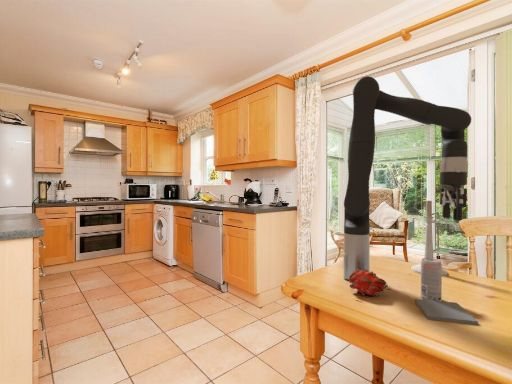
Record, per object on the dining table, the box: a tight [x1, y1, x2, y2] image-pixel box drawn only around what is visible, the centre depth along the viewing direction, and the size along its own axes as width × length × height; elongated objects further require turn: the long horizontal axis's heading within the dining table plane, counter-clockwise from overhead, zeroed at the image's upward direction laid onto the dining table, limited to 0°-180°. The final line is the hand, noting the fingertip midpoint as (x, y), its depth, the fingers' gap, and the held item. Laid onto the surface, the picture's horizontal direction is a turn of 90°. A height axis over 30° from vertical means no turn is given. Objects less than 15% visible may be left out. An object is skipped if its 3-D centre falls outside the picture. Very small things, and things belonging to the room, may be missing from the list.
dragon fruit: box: [347, 269, 389, 297], centre depth 88 cm, size 8×8×12 cm
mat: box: [414, 298, 479, 325], centre depth 75 cm, size 11×12×1 cm
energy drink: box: [420, 257, 443, 301], centre depth 84 cm, size 5×5×12 cm
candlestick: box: [410, 200, 448, 277], centre depth 113 cm, size 13×13×30 cm
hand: (451, 218), depth 92 cm, fingers open, 8 cm apart
